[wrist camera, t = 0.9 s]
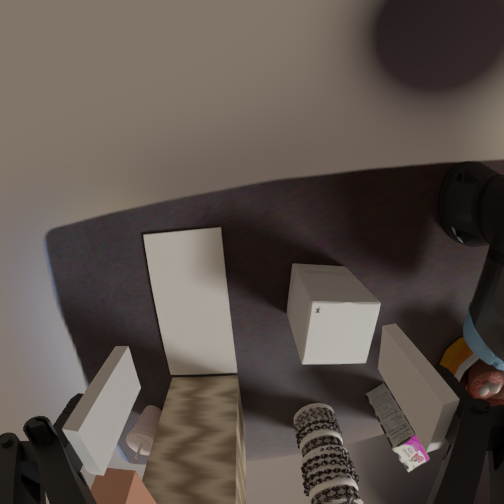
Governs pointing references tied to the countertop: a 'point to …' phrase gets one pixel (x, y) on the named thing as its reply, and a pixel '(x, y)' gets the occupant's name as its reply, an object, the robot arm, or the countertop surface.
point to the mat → (192, 300)
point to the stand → (199, 444)
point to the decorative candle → (324, 457)
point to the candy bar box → (396, 427)
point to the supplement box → (330, 315)
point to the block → (120, 488)
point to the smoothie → (144, 431)
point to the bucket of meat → (474, 373)
